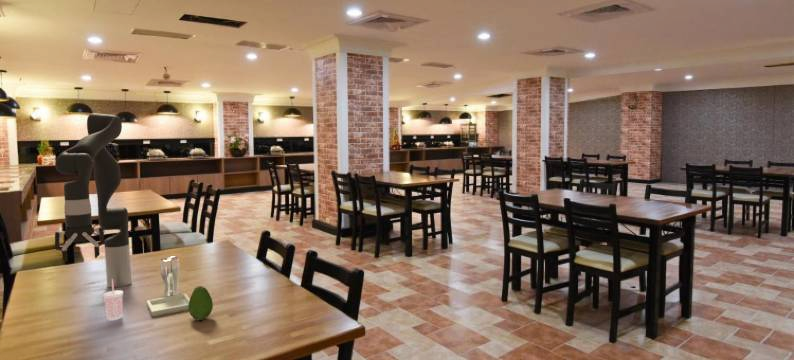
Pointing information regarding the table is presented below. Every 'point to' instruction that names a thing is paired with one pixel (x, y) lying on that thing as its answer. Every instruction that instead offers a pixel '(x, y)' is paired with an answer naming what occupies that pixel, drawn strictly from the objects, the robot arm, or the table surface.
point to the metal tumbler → (170, 275)
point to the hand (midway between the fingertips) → (81, 259)
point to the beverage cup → (113, 303)
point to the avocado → (200, 303)
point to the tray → (168, 305)
